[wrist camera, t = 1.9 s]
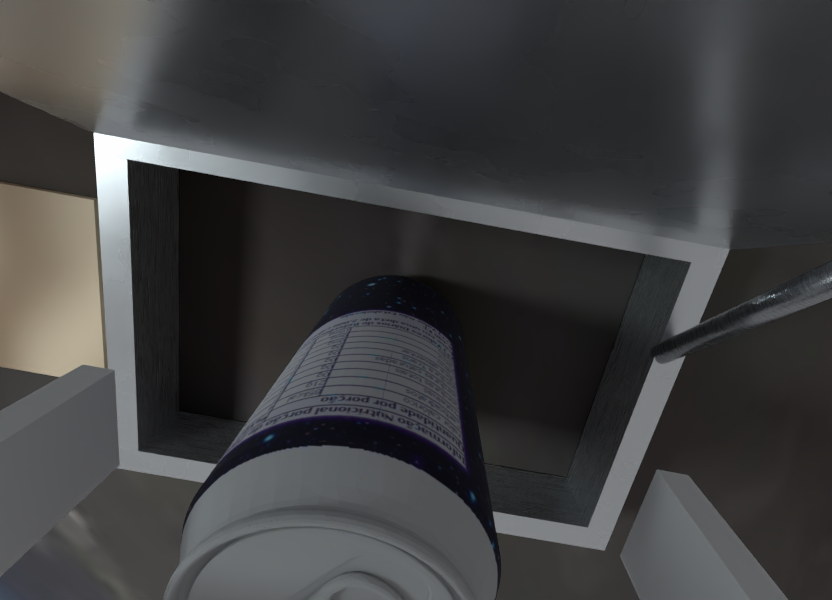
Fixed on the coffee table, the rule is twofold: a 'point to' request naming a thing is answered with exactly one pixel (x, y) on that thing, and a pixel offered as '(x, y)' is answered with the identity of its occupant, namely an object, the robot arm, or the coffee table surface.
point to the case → (452, 170)
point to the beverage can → (353, 468)
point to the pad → (50, 281)
